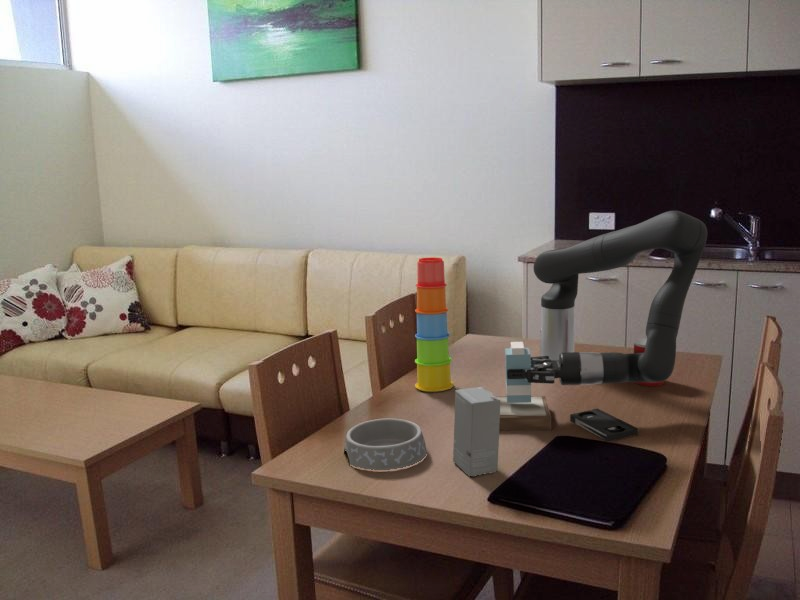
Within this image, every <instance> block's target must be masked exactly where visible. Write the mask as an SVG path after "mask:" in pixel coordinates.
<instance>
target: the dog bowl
mask: <svg viewBox="0 0 800 600" xmlns="http://www.w3.org/2000/svg"><path fill="white" fill-rule="evenodd" d="M345 450H346V452H345ZM344 452H345V453H347V456H348V461H349V465H350V464H351V465H353V466H355V467H360V468H364V469H371V470H373V469H374V470H390V469H397V468H403V467H406V466H410V465H413V464H415V463H417V462H419V461H421V460H422V459H423V458H424V457H425V456H426V454H427V455H428V450H427V445H426V441H425V437H424V434H423V431H422V428H421V427H420V426H419V425H418V424H417V423H415V422H413V421H410V420H407V419H402V418H401V419H400V418H377V419H371V420H367V421H363V422H360V423H358V424H356V425H354V426H352V427H351V428H350V429H348V431H347V433H346V435H345V444H344V448H343V453H344Z"/></svg>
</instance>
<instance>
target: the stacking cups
mask: <svg viewBox="0 0 800 600" xmlns="http://www.w3.org/2000/svg"><path fill="white" fill-rule="evenodd" d="M416 272H417V274H416V275H417V276H416V277H417V280H416V281H417V283H416V284H415V287H416V309H414V312H415V313H416V332H417V333H415V335H414V337H415V339H416V357H417V358H416V359H414V363H415V364H416V371H417V372H416V373H417V375H416V376H417V377H416V379H417V382H416V383H415V385H414V387H415V388H416V389H417V390H419V391H422V392H432V393H435V392H443V391H444V392H445V391H448V390H450V389H452V388H453V387H454V382H453V381H452V380H451V378H452V376H451V363H452V362H453V360H452V357H450V349H449V346H450V345H449V337H450V335H451V334H450V333H449V330H448V315H447V314H448V312H449V308H448V307H447V300H446V299H447V298H446V287H447V285H448V284H447V283H445V282H446V281H445V280H446V279H445V261H444V260H443V258H442V257H422V258H418V261H417V271H416Z"/></svg>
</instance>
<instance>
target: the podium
mask: <svg viewBox="0 0 800 600" xmlns="http://www.w3.org/2000/svg"><path fill="white" fill-rule="evenodd" d="M494 396H495V397H497V398H498V399H500V423H499V431H518V430H519V431H529V430H531V431H533V430H534V431H536V430H537V431H545V430H546V431H549V430H550V431H551V430H552V415H551V412H550V411H551V410H550V407H549V404H548V401H547V397H546V395H531V403H507V398H506V395H505V396H501V395H500V396H498V395H494Z"/></svg>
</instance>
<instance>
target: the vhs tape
mask: <svg viewBox="0 0 800 600" xmlns="http://www.w3.org/2000/svg"><path fill="white" fill-rule="evenodd" d="M569 416H570V417H569V421H570V422H571V423H573V424H575V425H577V426H579V427H581V428H583V429H584V430H586V431H588V432H590V433H592V434H593V435H595V436H597V437H599V438H601V439H603V440H604V441H607V442H612V441H613V442H614V441H618V440H621V439H627V438H629V437H630V438H631V437H634V436H638V435H639V428H638V427H636V426H634V425H632V424H630V423H628V422H625V421H624V420H622V419H620V418H617V417H616V416H613V415H611V414H610V413H607V412H605V411H603V410H601V409H599V408H597V407H596V408H593V409H590V410H589V409H588V410H585V411H580V412H574V413H570V414H569ZM619 427H621V428H619Z"/></svg>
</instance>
